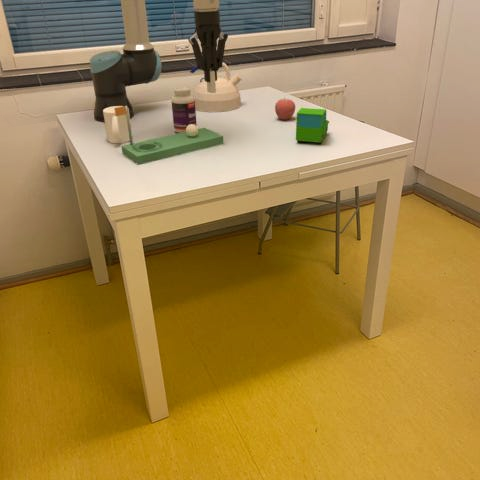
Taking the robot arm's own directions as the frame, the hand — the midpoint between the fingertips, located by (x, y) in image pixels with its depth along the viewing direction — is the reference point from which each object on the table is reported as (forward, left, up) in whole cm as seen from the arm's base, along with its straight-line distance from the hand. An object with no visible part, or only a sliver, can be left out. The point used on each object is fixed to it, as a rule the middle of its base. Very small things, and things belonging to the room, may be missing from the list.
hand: (211, 92), depth 151 cm
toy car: (+20, +26, -16) cm, 36 cm away
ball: (0, -8, -13) cm, 15 cm away
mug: (-18, -26, -16) cm, 35 cm away
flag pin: (-5, -29, -13) cm, 32 cm away
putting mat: (0, -15, -15) cm, 22 cm away
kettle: (-36, +24, -16) cm, 46 cm away
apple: (-3, +33, -16) cm, 37 cm away
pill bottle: (-14, -3, -16) cm, 21 cm away
